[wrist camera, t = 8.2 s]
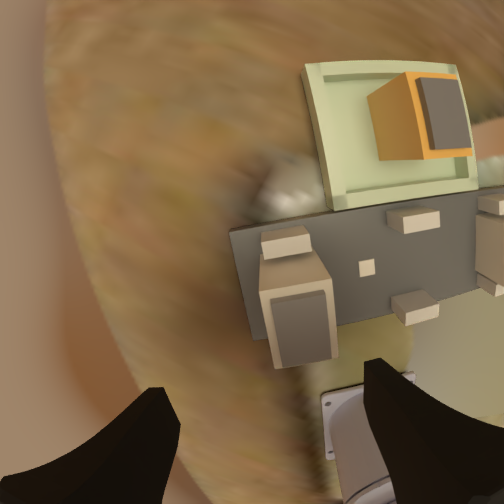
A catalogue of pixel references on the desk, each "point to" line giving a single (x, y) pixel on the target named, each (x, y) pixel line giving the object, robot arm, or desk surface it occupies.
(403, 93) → the block
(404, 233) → the panel
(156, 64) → the desk surface
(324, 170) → the tray
